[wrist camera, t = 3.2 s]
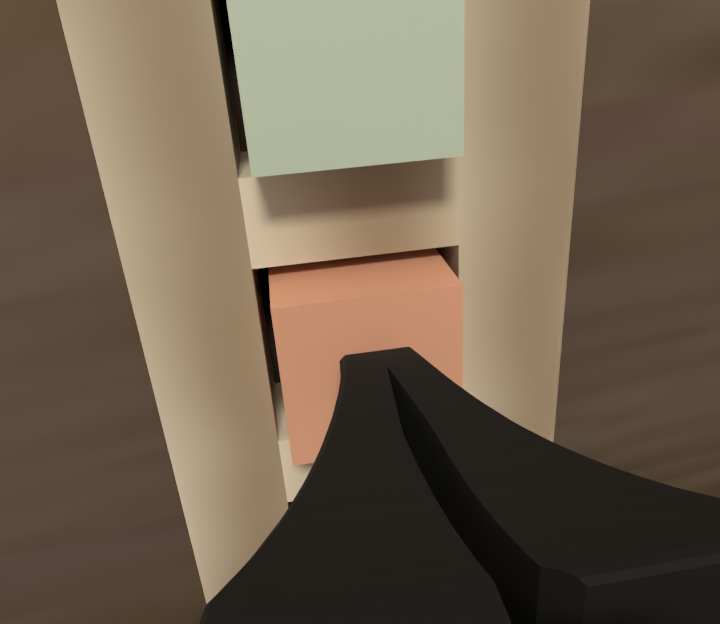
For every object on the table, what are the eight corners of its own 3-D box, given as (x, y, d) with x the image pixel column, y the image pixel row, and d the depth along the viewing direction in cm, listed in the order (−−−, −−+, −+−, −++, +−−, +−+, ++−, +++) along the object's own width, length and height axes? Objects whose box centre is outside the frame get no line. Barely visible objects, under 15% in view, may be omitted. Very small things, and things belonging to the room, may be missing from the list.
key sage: (252, 150, 12) (251, 177, 10) (222, -62, 11) (215, -78, 9) (431, 133, 13) (463, 156, 11) (428, -75, 11) (465, -93, 9)
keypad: (230, 608, 20) (226, 684, 17) (48, -190, 11) (-4, -241, 9) (507, 560, 21) (537, 626, 18) (544, -209, 12) (612, -260, 10)
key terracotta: (287, 406, 15) (293, 465, 13) (268, 265, 13) (269, 309, 11) (435, 385, 15) (462, 440, 13) (433, 245, 14) (463, 285, 12)
